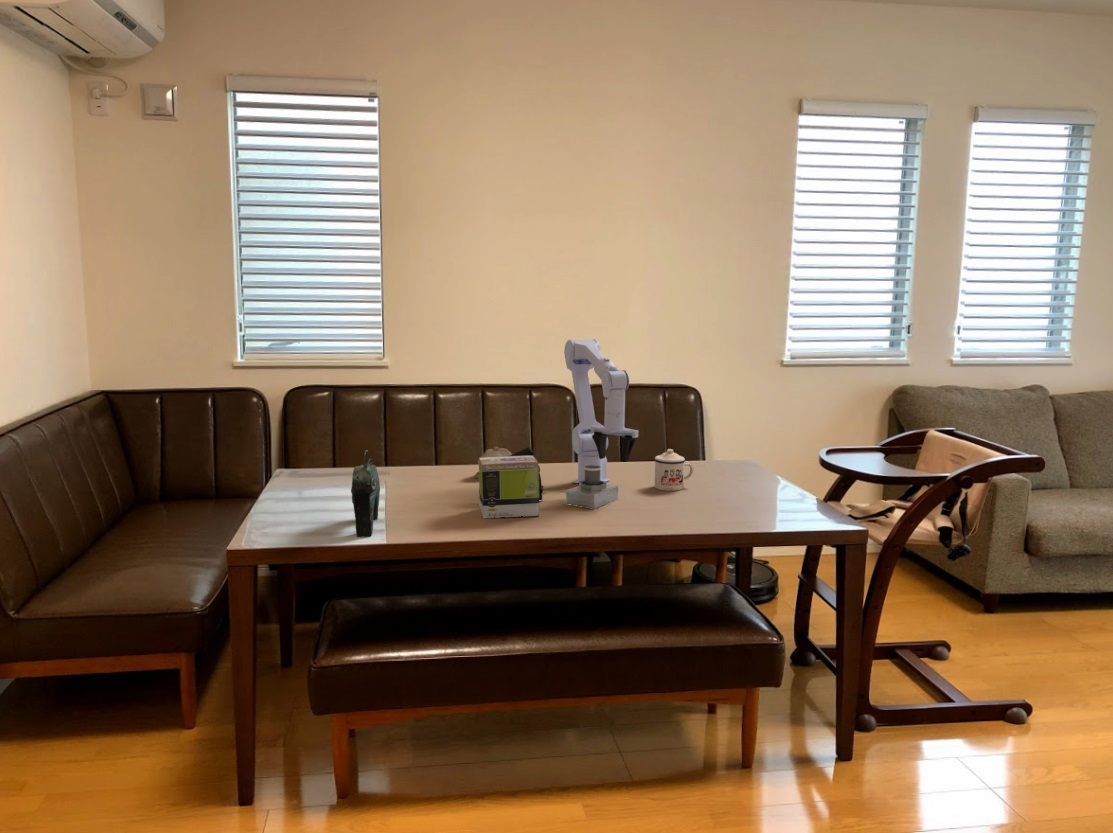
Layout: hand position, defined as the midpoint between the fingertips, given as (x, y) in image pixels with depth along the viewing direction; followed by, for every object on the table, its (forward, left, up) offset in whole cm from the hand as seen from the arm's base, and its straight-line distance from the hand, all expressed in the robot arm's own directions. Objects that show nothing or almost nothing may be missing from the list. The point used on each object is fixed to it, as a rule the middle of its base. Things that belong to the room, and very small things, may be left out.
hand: (613, 459), depth 250 cm
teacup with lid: (-19, +10, -11) cm, 24 cm away
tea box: (+33, -13, -11) cm, 37 cm away
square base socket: (+10, -1, -10) cm, 14 cm away
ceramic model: (+1, -42, -11) cm, 43 cm away
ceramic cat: (+64, -34, -11) cm, 73 cm away
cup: (+10, -1, -6) cm, 12 cm away
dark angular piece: (+20, -19, -11) cm, 30 cm away
